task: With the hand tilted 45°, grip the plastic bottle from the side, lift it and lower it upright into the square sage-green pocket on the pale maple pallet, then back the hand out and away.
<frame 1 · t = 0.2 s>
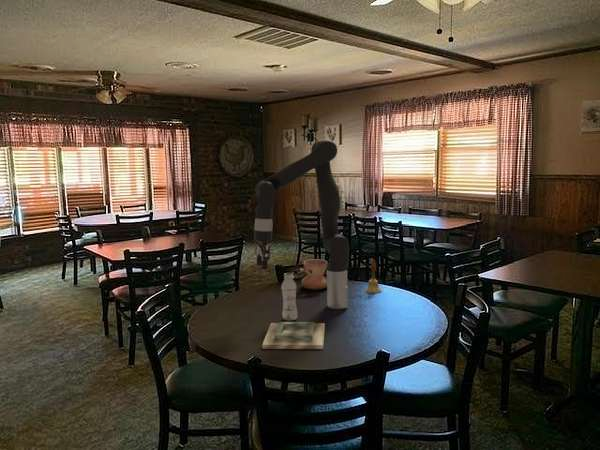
hand: (261, 267, 200), 23 cm above the table, tool pointing down, fingers open, 8 cm apart
hand bell: (373, 291, 239), on the table
plastic bottle: (290, 320, 201), on the table
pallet: (295, 337, 182), on the table
ceramic jug: (316, 288, 248), on the table
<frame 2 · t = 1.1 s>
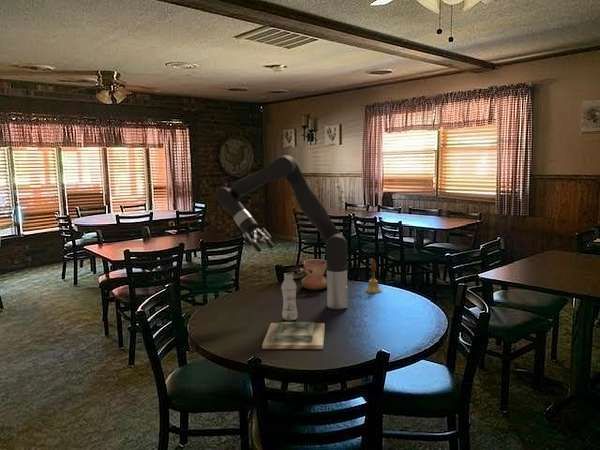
hand: (266, 249, 209), 28 cm above the table, tool tilted 45°, fingers open, 8 cm apart
nothing on the table moved.
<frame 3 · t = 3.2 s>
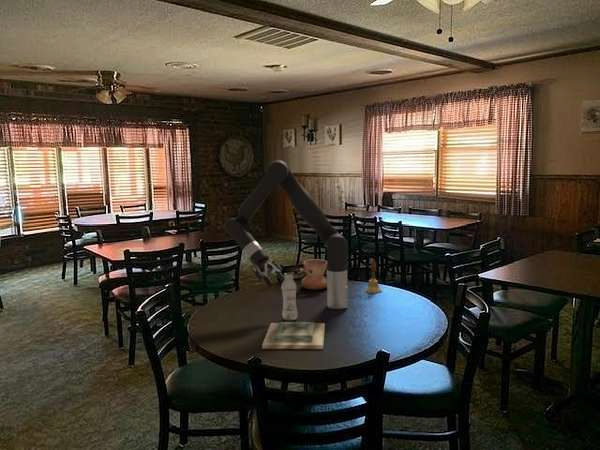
hand: (277, 282, 203), 15 cm above the table, tool tilted 45°, fingers open, 8 cm apart
nothing on the table moved.
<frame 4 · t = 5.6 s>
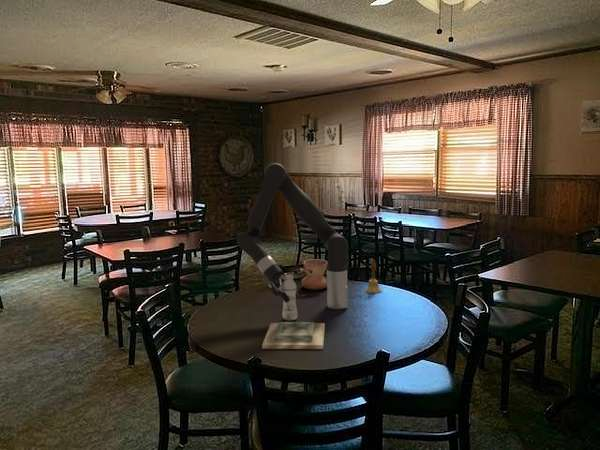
hand: (292, 299, 199), 9 cm above the table, tool tilted 45°, fingers closed on plastic bottle, 6 cm apart
plastic bottle: (290, 320, 201), on the table, touching gripper
everything else where it was.
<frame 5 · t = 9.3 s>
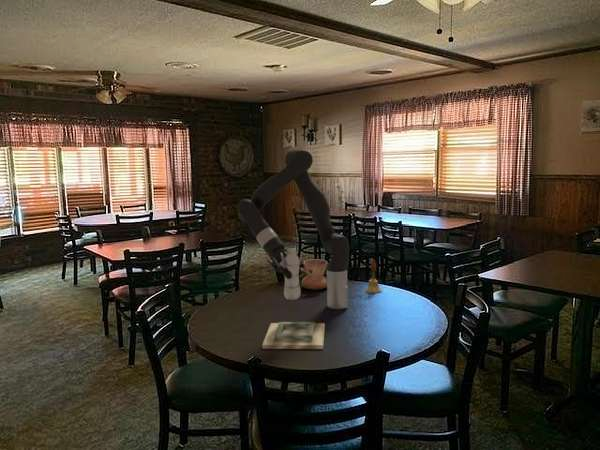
hand: (295, 275, 179), 24 cm above the table, tool tilted 45°, fingers closed on plastic bottle, 6 cm apart
plastic bottle: (292, 299, 181), point 15 cm above the table, touching gripper
everything else where it was.
when the fingers open (12 cm above the table, at t = 13.0 s): plastic bottle stays where it is, resting on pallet.
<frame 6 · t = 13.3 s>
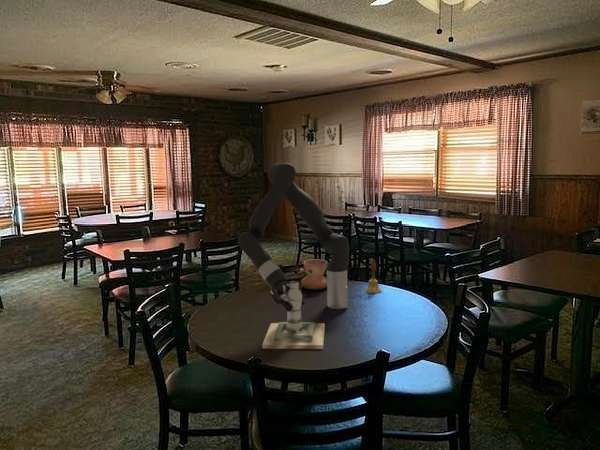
hand: (297, 307, 180), 12 cm above the table, tool tilted 45°, fingers open, 8 cm apart
plastic bottle: (294, 333, 182), point 1 cm above the table, touching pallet
everything else where it was.
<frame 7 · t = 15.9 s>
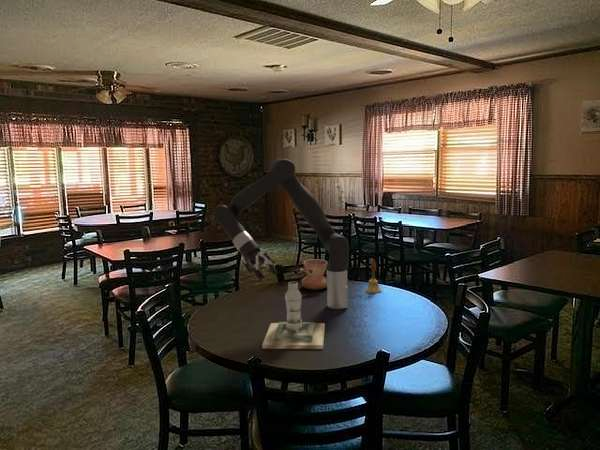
hand: (269, 276, 186), 22 cm above the table, tool tilted 45°, fingers open, 8 cm apart
nothing on the table moved.
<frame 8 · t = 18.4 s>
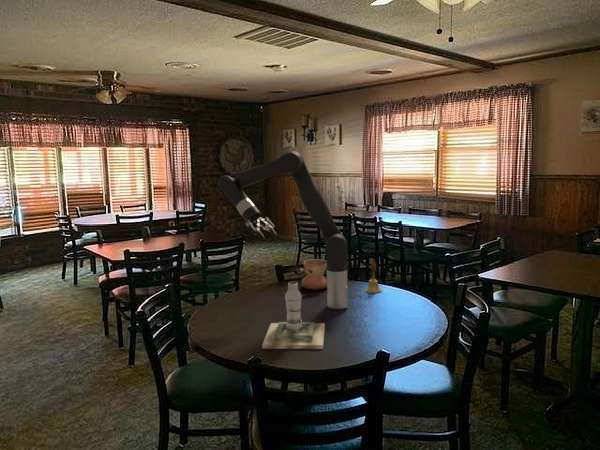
hand: (269, 238, 206), 34 cm above the table, tool tilted 45°, fingers open, 8 cm apart
nothing on the table moved.
at the end: plastic bottle 0.3 cm off-centre on the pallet, point 1.3 cm above the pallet's base; plastic bottle tilted 0°; the gripper is holding nothing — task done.
